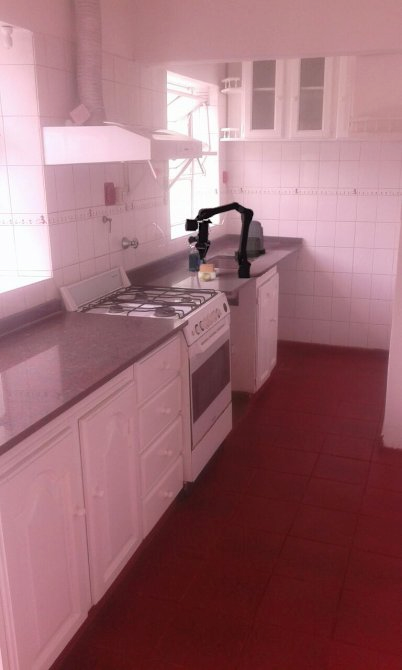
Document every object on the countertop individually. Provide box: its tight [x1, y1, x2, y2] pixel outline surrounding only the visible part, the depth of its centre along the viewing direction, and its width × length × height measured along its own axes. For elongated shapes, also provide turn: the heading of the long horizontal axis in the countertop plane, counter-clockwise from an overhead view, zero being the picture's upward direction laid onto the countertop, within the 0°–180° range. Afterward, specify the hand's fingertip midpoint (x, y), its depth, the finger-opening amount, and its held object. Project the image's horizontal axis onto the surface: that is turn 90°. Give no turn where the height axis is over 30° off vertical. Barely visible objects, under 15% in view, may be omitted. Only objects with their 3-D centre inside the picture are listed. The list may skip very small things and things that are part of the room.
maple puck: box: [199, 273, 212, 283], centre depth 349 cm, size 6×6×4 cm
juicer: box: [246, 219, 266, 259], centre depth 439 cm, size 30×16×24 cm, turn 166°
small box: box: [188, 252, 207, 273], centre depth 383 cm, size 11×6×10 cm, turn 143°
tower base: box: [197, 269, 218, 279], centre depth 363 cm, size 10×10×4 cm
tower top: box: [200, 263, 216, 272], centre depth 362 cm, size 8×8×4 cm
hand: (202, 259), depth 348 cm, fingers open, 9 cm apart
